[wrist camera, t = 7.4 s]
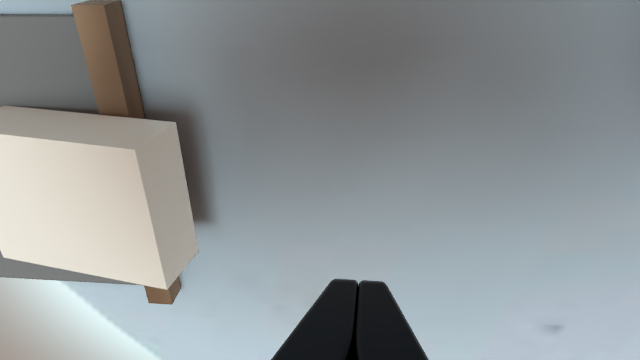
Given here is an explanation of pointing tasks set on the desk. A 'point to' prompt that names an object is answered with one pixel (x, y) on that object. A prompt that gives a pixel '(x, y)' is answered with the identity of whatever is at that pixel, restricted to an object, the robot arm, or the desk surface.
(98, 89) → the walnut rail
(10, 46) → the charcoal mat
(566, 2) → the desk surface
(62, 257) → the cream rectangular block
